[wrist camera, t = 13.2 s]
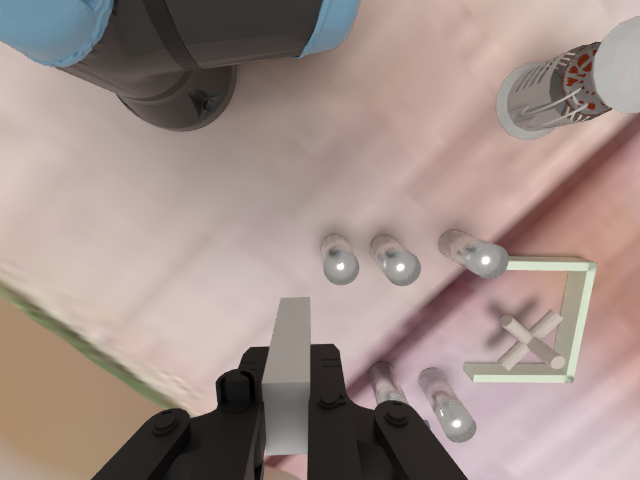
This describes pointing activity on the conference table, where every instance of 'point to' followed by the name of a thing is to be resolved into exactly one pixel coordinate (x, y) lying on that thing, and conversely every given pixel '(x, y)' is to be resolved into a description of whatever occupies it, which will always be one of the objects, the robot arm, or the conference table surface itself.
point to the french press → (574, 85)
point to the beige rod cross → (531, 341)
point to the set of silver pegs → (403, 272)
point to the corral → (568, 328)
